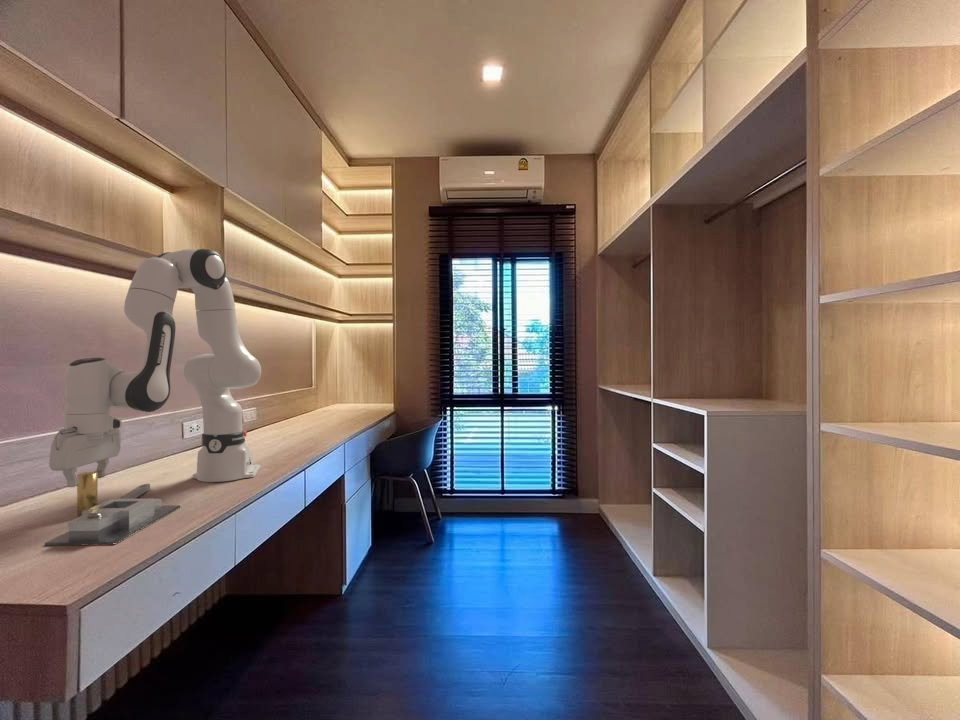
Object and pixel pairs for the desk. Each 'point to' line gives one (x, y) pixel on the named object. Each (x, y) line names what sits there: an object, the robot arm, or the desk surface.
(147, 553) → the desk surface
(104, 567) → the desk surface
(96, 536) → the sliding bolt latch
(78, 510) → the brass pin
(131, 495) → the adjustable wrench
